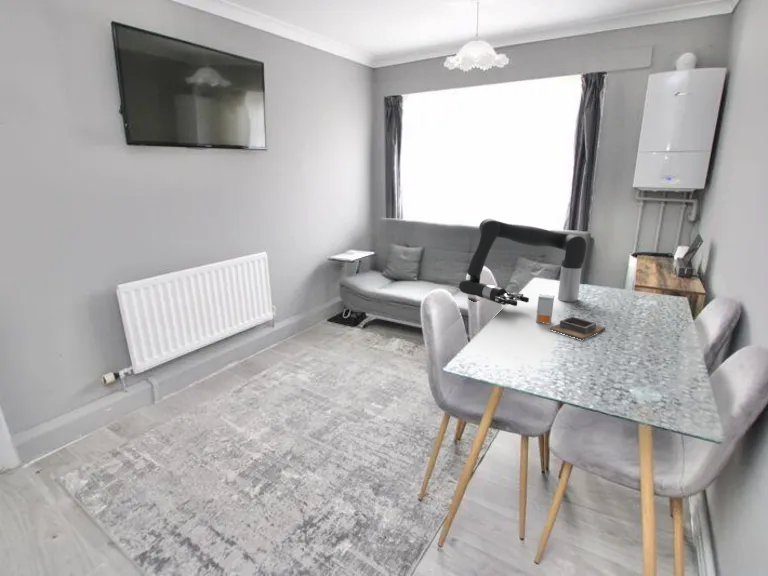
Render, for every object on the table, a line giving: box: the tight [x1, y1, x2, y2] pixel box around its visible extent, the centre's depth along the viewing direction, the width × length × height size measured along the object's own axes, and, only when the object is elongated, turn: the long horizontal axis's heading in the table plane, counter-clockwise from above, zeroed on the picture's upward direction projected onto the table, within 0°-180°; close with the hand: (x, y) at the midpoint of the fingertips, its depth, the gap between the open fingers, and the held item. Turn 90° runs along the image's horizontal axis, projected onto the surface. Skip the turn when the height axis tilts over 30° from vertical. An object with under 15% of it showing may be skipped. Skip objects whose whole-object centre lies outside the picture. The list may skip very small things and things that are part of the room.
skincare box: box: [535, 293, 555, 324], centre depth 171 cm, size 6×4×12 cm
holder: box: [548, 316, 606, 341], centre depth 163 cm, size 18×14×4 cm
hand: (522, 302), depth 180 cm, fingers open, 8 cm apart
